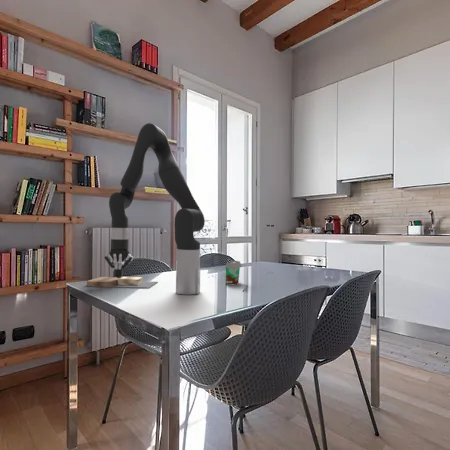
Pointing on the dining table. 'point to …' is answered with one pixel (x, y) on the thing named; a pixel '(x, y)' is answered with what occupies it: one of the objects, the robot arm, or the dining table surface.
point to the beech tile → (130, 280)
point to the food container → (232, 272)
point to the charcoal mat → (143, 285)
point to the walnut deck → (103, 282)
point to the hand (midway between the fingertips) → (118, 277)
